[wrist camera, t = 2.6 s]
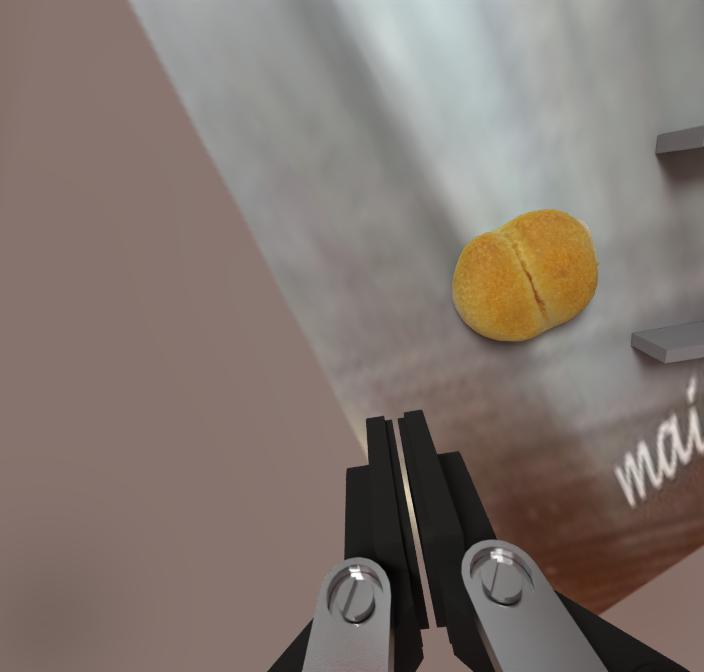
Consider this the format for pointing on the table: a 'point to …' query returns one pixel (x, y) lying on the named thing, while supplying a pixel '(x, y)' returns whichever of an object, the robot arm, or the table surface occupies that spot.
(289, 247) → the table surface
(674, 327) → the frame
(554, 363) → the table surface
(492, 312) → the bread roll
